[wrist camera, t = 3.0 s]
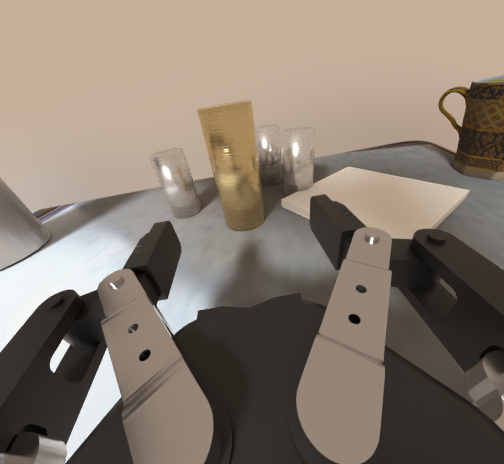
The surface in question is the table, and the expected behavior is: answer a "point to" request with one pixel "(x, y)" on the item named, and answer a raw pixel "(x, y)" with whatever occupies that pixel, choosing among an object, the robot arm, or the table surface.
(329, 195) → the pad
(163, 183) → the spacers
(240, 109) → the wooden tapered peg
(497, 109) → the ceramic cup
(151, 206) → the table surface
